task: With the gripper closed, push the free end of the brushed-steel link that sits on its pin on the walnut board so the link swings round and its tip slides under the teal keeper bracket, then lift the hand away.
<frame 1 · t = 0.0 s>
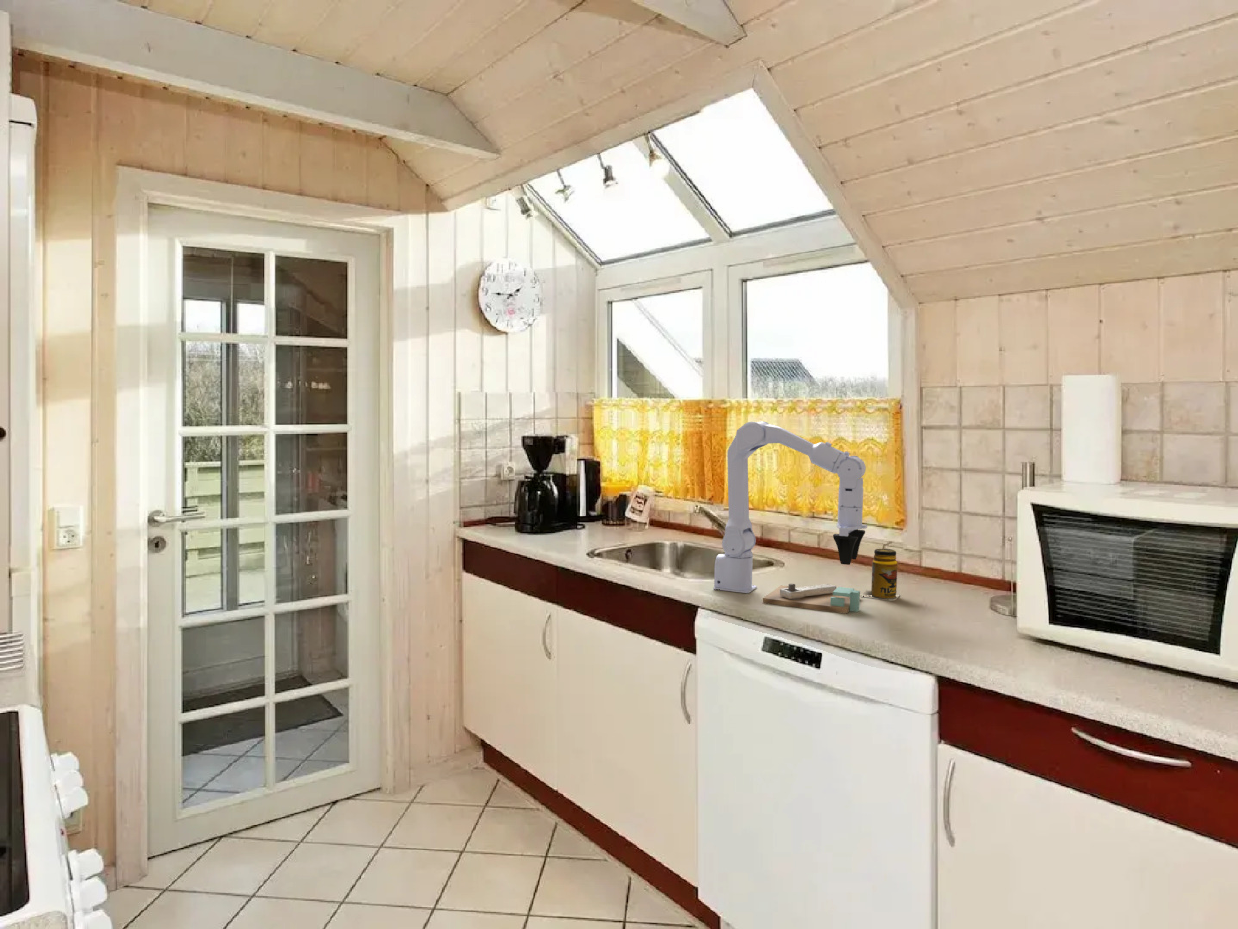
hand: (848, 561, 191), 10 cm above the counter, tool pointing down, fingers open, 7 cm apart
board: (811, 601, 193), on the counter
keeper: (854, 610, 184), on the counter
condiment: (880, 597, 199), on the counter
link: (809, 591, 194), point 2 cm above the counter, hinge at 55.0°
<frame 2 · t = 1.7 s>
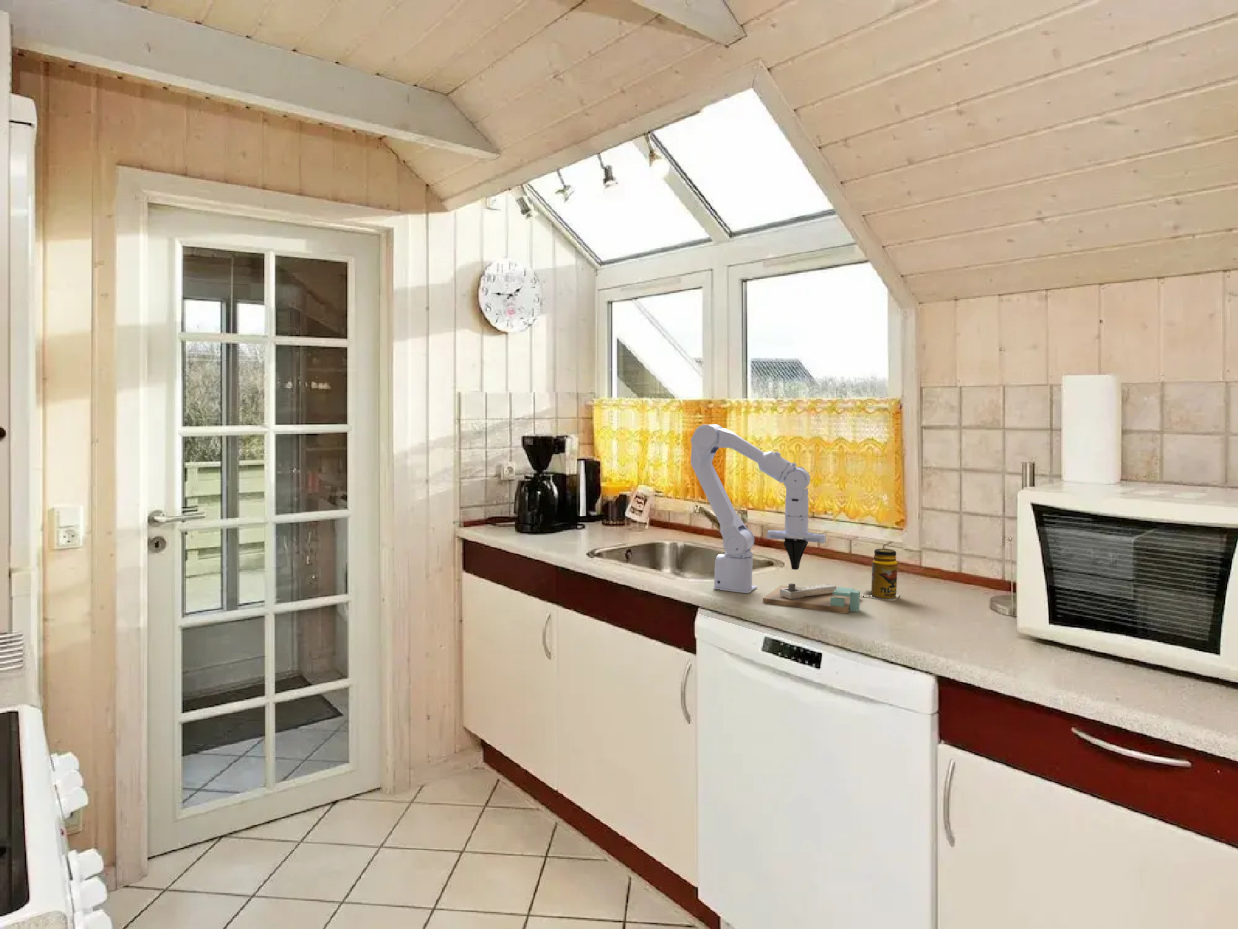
hand: (795, 568, 199), 7 cm above the counter, tool pointing down, fingers closed
nothing on the counter moved.
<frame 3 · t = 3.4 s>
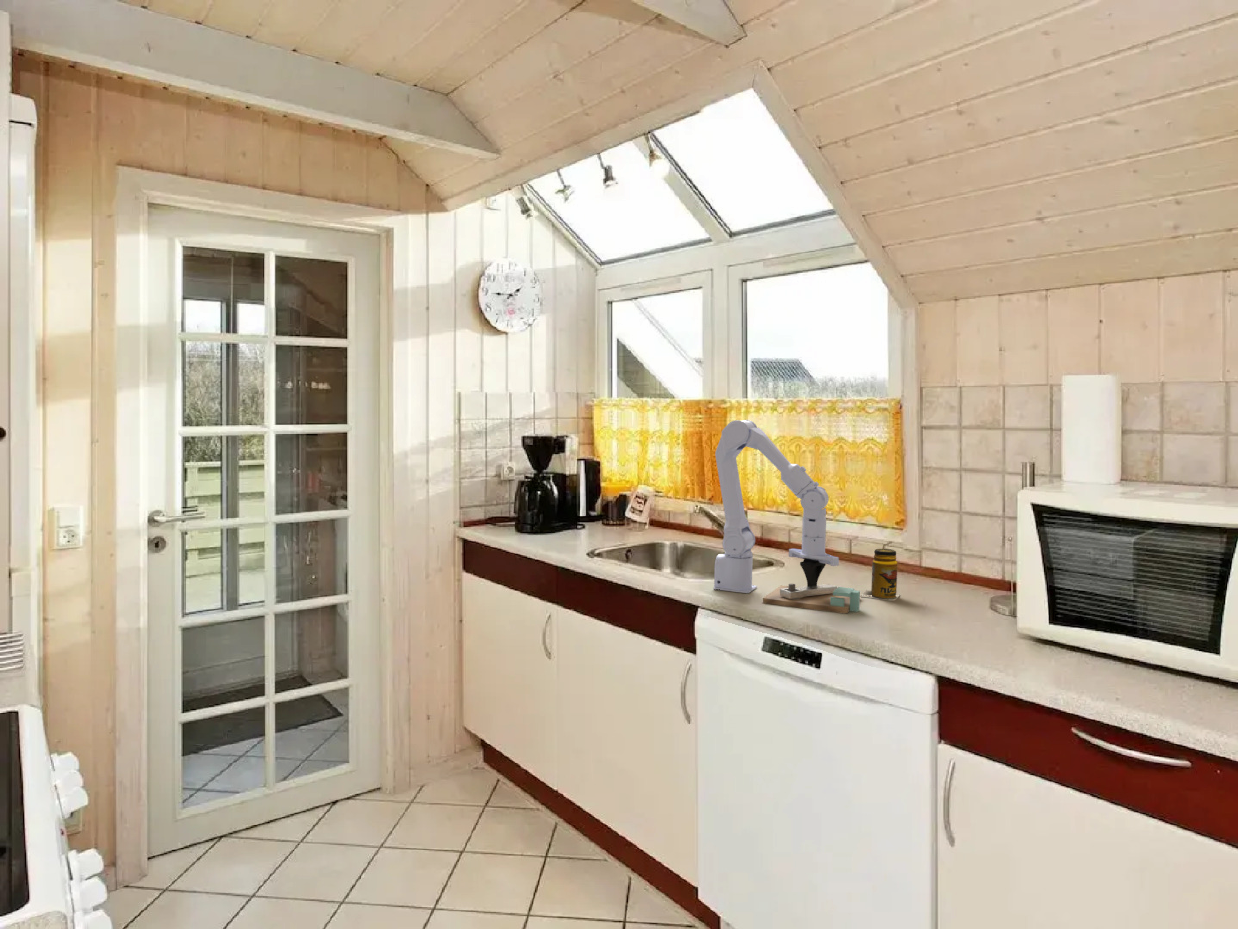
hand: (812, 589, 197), 2 cm above the counter, tool pointing down, fingers closed, pressing on link
link: (809, 591, 194), point 2 cm above the counter, hinge at 53.8°, touching gripper
everything else where it was.
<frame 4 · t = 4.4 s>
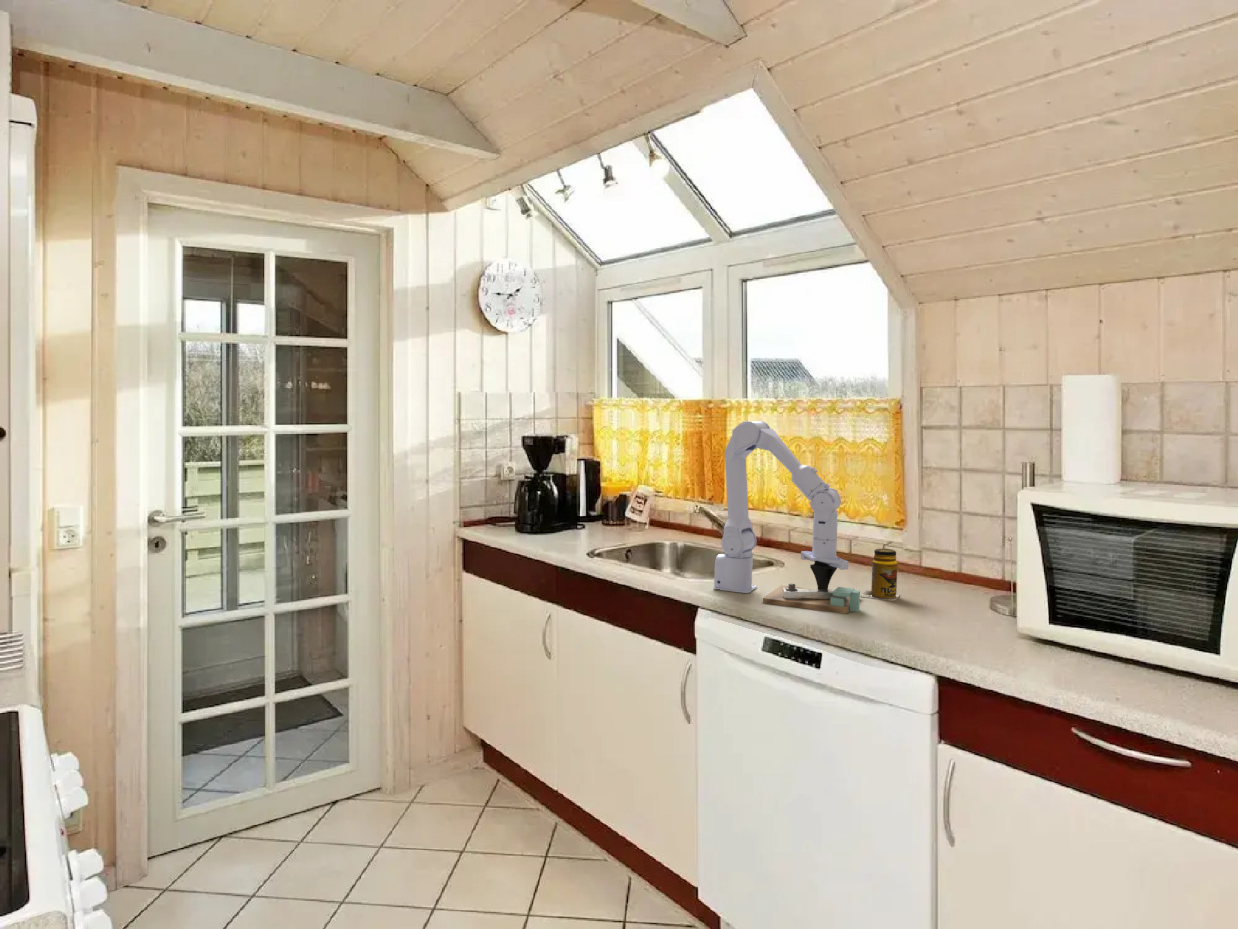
hand: (822, 593, 193), 2 cm above the counter, tool pointing down, fingers closed, pressing on link
link: (814, 593, 191), point 2 cm above the counter, hinge at 23.0°, touching gripper
everything else where it was.
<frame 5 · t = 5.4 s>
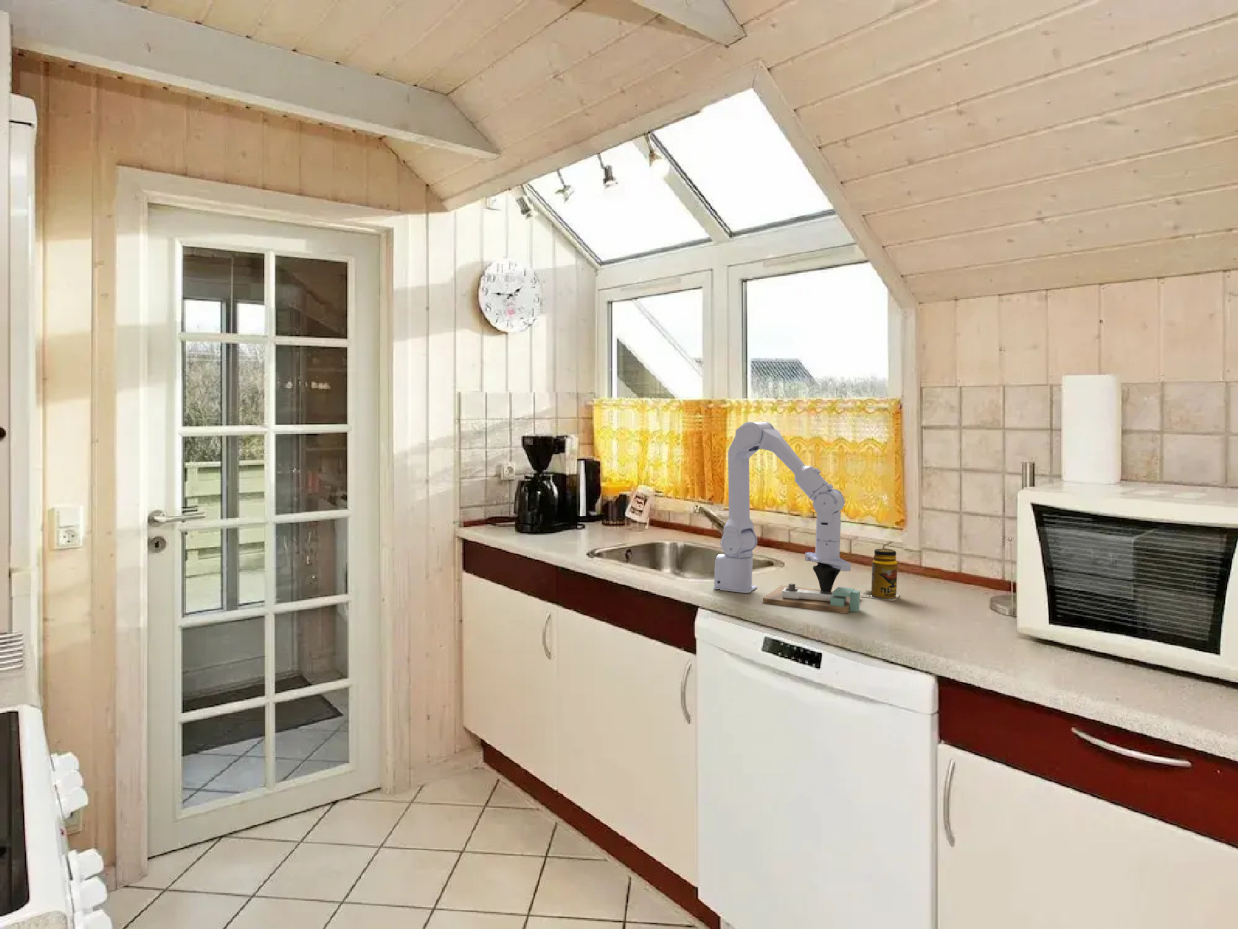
hand: (825, 595, 191), 2 cm above the counter, tool pointing down, fingers closed
link: (814, 595, 189), point 2 cm above the counter, hinge at 7.5°, touching gripper
everything else where it was.
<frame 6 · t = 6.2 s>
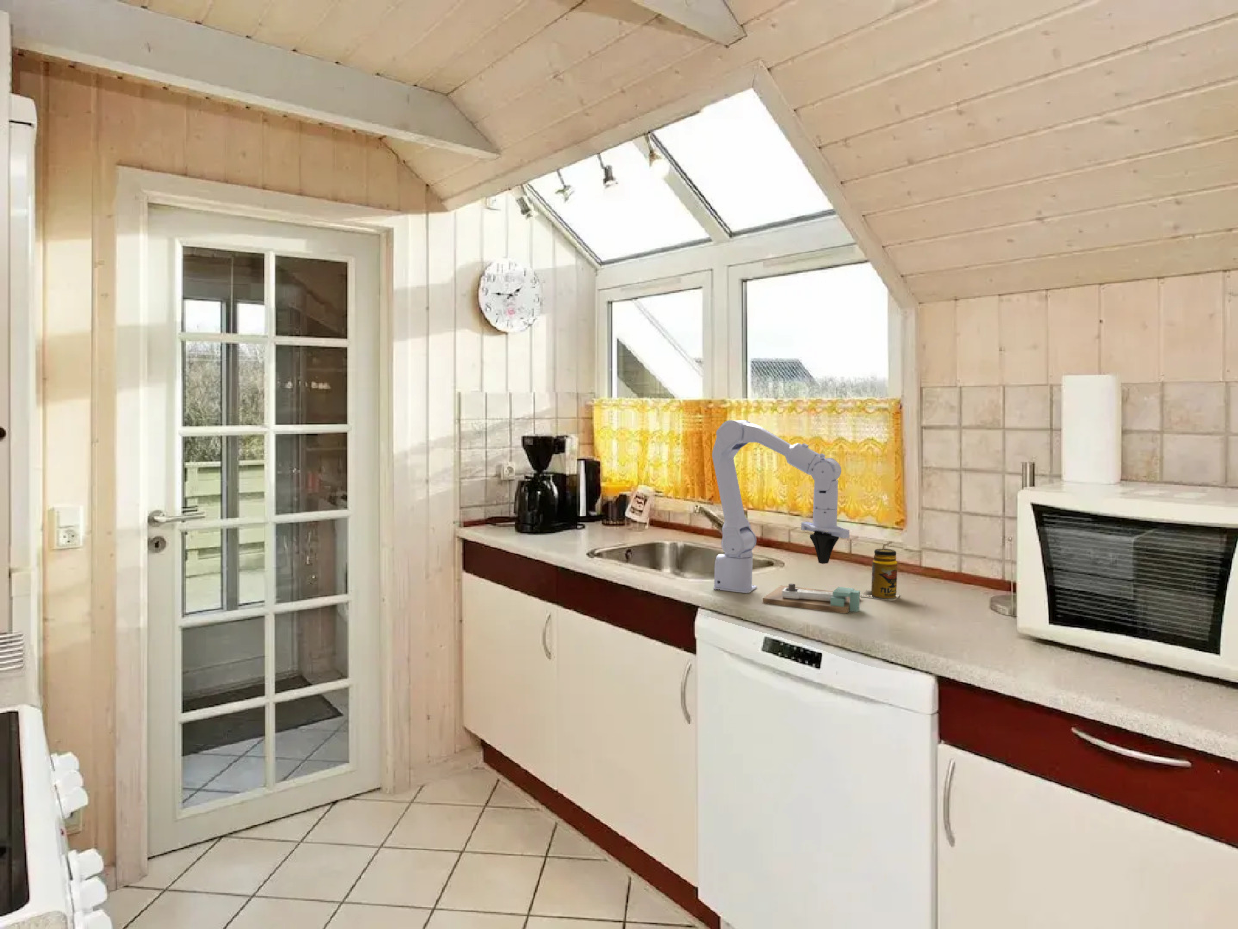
hand: (823, 563, 193), 9 cm above the counter, tool pointing down, fingers closed
link: (814, 595, 189), point 2 cm above the counter, hinge at 7.5°
everything else where it was.
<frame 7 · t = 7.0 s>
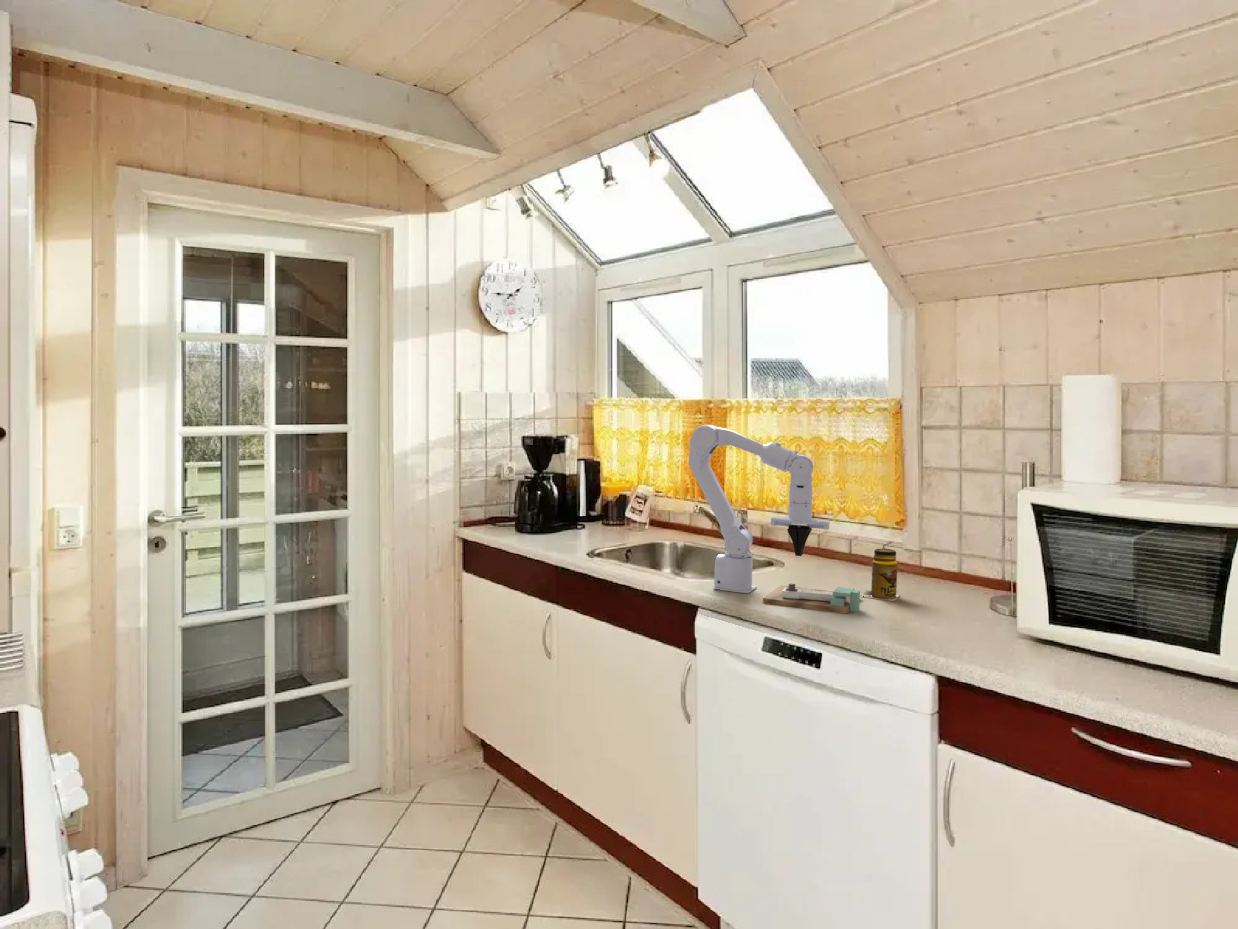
hand: (798, 555, 200), 10 cm above the counter, tool pointing down, fingers closed
nothing on the counter moved.
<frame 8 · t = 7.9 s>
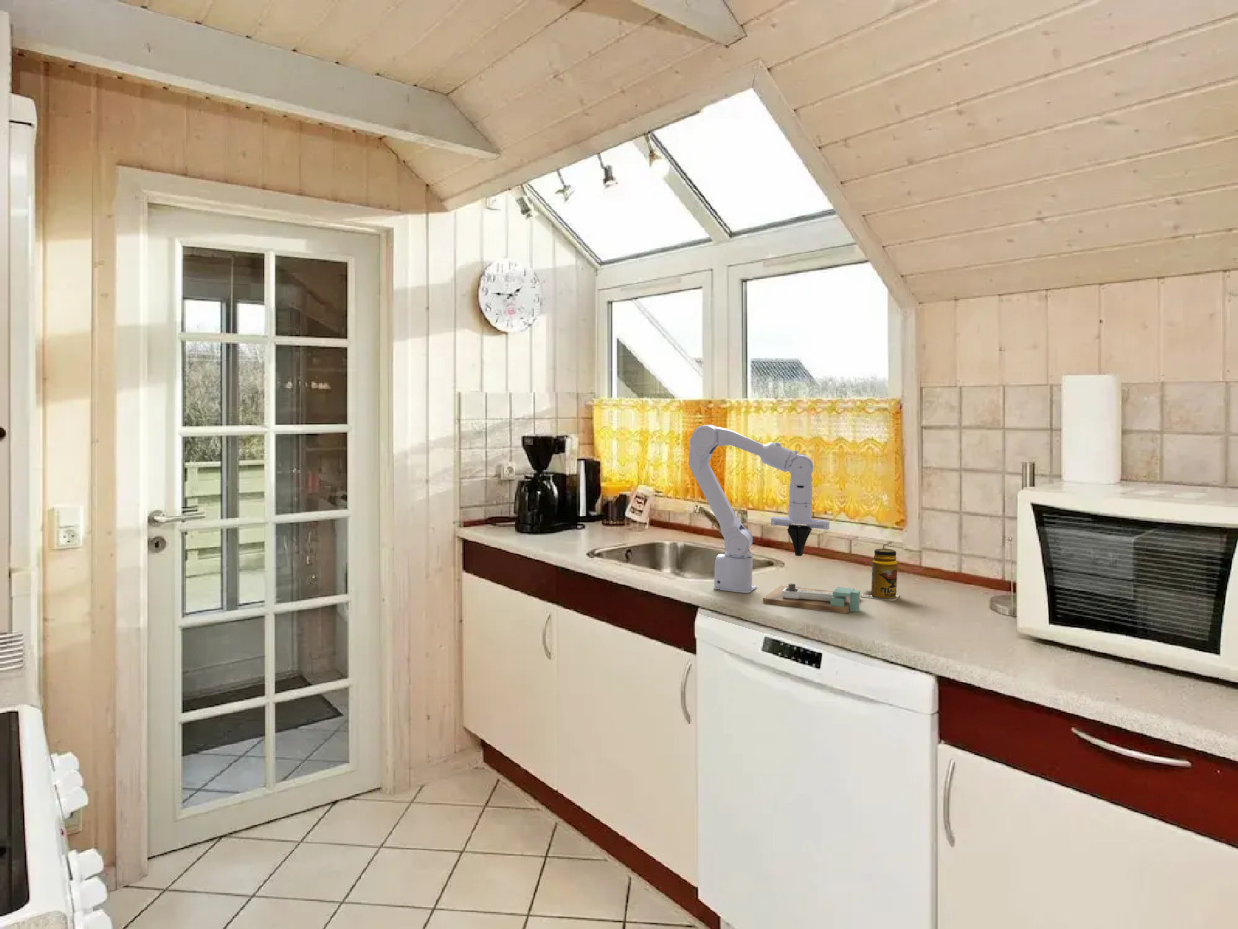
hand: (798, 555, 200), 10 cm above the counter, tool pointing down, fingers closed
nothing on the counter moved.
at the end: link at +8° (first picture: +55°); the gripper is holding nothing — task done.
